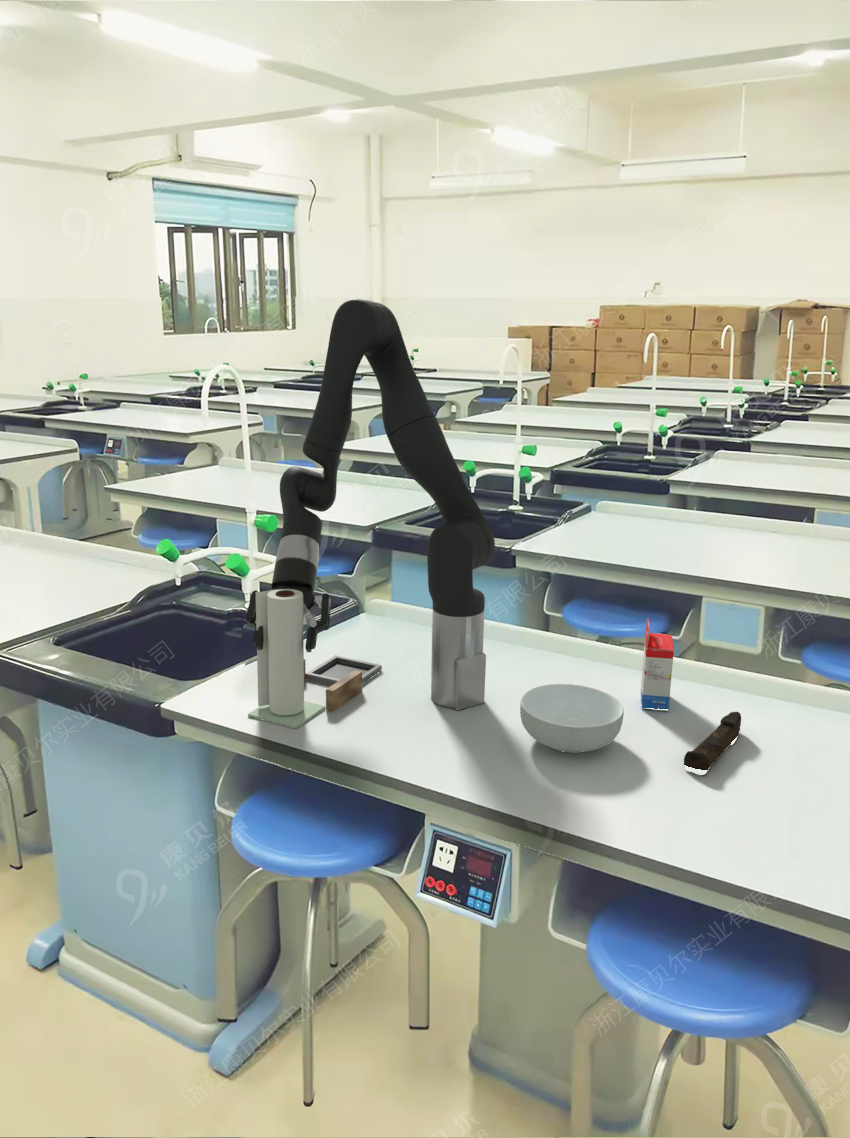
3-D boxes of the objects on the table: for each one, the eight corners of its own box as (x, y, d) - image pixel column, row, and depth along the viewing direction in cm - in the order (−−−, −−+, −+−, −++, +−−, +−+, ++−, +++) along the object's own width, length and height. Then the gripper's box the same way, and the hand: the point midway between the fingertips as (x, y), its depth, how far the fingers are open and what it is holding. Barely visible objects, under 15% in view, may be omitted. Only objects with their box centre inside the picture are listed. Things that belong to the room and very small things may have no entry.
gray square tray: (335, 660, 185) (335, 655, 184) (381, 670, 180) (381, 665, 180) (305, 679, 176) (305, 673, 175) (353, 690, 171) (353, 684, 171)
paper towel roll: (311, 709, 162) (310, 593, 156) (284, 720, 157) (282, 600, 152) (285, 697, 166) (283, 584, 161) (258, 707, 162) (255, 590, 156)
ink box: (669, 712, 164) (676, 635, 160) (640, 710, 165) (647, 632, 161) (666, 693, 172) (673, 619, 168) (639, 691, 173) (646, 617, 169)
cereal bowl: (598, 777, 141) (601, 735, 139) (501, 750, 150) (502, 710, 148) (635, 735, 155) (638, 696, 153) (544, 712, 164) (546, 675, 162)
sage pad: (278, 697, 168) (278, 694, 168) (325, 708, 163) (325, 706, 163) (248, 716, 160) (248, 713, 160) (296, 728, 156) (296, 726, 156)
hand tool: (706, 780, 141) (709, 753, 140) (681, 771, 144) (684, 744, 143) (753, 738, 155) (756, 713, 154) (730, 731, 158) (733, 706, 157)
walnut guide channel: (299, 677, 177) (298, 657, 176) (362, 691, 171) (362, 671, 170) (267, 696, 168) (267, 675, 167) (333, 712, 162) (333, 691, 161)
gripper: (252, 554, 162) (237, 638, 154) (332, 557, 161) (321, 642, 153) (261, 574, 169) (247, 656, 161) (338, 577, 168) (328, 660, 160)
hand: (283, 649), depth 157 cm, fingers open, 8 cm apart
